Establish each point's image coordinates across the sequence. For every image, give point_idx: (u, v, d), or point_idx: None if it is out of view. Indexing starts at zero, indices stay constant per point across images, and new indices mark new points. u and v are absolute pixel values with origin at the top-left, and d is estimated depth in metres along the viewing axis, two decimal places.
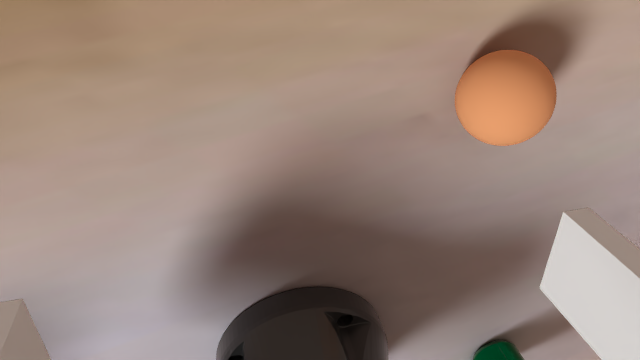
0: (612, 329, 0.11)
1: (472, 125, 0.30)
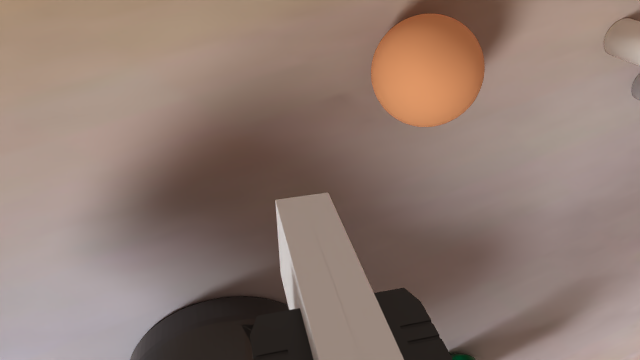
0: None
1: (388, 102, 0.25)
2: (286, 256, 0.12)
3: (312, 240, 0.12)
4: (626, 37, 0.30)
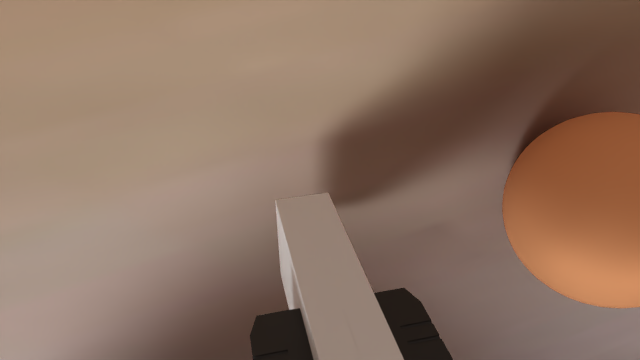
0: None
1: (548, 272, 0.14)
2: (286, 256, 0.12)
3: (312, 240, 0.12)
4: None
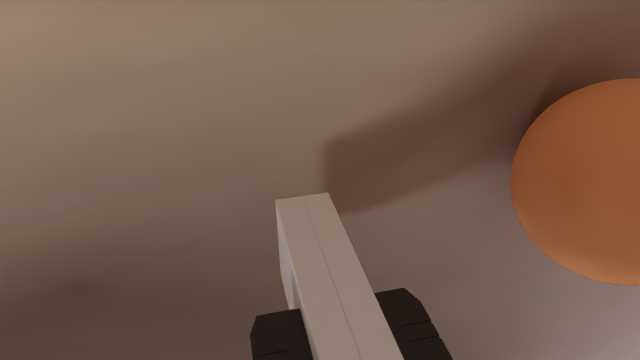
0: None
1: None
2: (286, 256, 0.12)
3: (312, 240, 0.12)
4: None
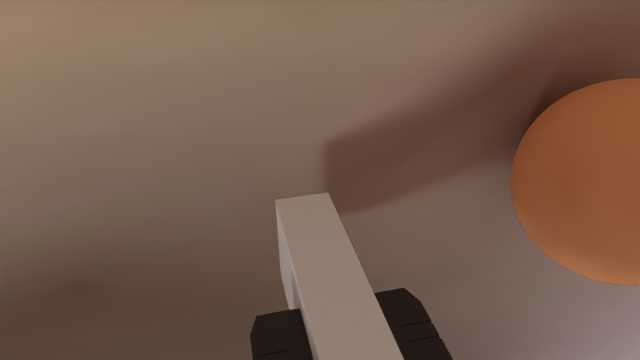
0: None
1: None
2: (286, 256, 0.12)
3: (312, 240, 0.12)
4: None
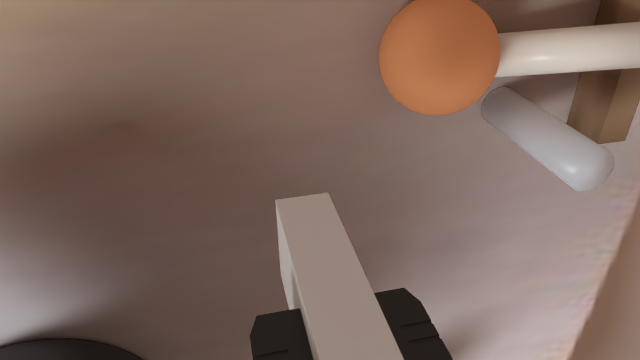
0: None
1: None
2: (286, 256, 0.12)
3: (312, 240, 0.12)
4: (517, 48, 0.26)
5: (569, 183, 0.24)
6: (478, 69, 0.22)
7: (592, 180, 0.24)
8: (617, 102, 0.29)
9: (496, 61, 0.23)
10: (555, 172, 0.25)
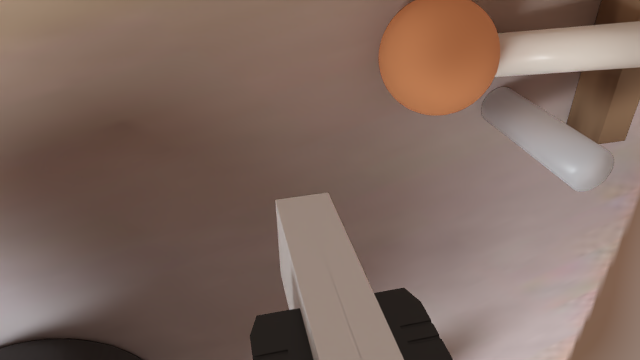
0: None
1: None
2: (286, 256, 0.12)
3: (312, 240, 0.12)
4: (516, 48, 0.26)
5: (569, 183, 0.24)
6: (478, 69, 0.22)
7: (592, 180, 0.24)
8: (617, 102, 0.29)
9: (496, 61, 0.23)
10: (555, 172, 0.25)
